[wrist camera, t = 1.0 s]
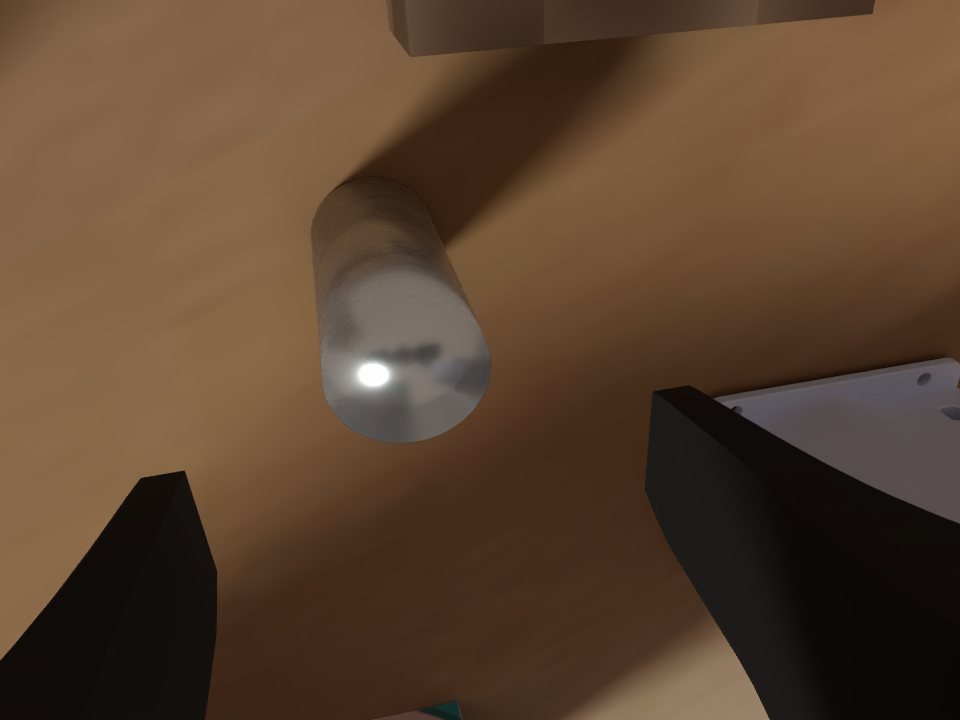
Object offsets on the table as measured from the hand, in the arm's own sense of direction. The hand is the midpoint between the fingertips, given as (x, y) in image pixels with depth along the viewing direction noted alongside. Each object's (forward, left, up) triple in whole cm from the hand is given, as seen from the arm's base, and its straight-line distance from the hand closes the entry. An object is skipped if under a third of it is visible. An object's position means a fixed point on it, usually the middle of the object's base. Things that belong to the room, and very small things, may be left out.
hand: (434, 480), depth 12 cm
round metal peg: (0, 0, -10) cm, 10 cm away
